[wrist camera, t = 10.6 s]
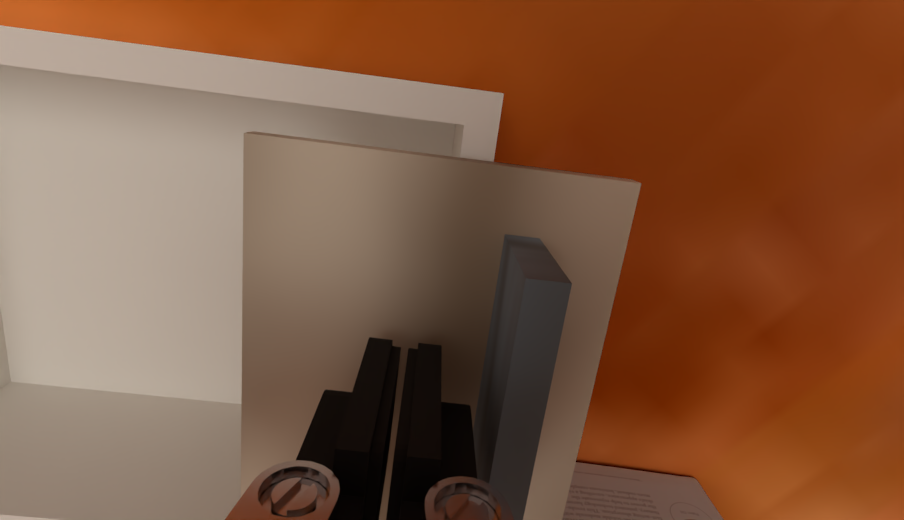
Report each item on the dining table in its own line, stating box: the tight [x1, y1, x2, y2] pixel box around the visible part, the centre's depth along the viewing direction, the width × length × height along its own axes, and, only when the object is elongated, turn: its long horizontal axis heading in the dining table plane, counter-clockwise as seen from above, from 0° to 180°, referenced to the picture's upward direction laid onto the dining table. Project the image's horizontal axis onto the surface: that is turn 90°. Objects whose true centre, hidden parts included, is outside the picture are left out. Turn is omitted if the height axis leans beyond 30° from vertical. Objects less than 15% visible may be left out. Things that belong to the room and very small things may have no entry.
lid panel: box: [241, 131, 641, 520], centre depth 11 cm, size 9×11×4 cm
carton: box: [0, 25, 504, 520], centre depth 17 cm, size 18×14×7 cm
